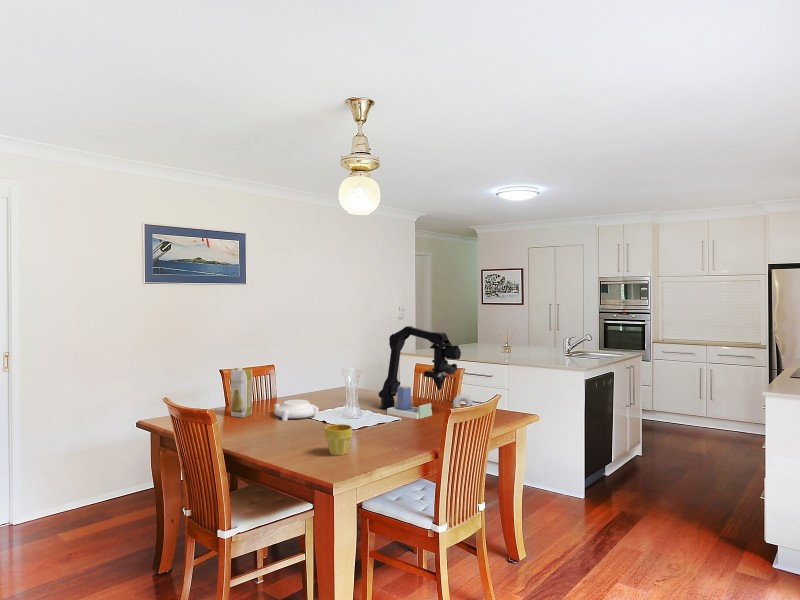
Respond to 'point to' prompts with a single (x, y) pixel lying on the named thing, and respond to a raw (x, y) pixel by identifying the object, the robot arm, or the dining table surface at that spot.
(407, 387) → the blue beige tall block
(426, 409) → the tray
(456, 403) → the donut
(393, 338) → the robot arm
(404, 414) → the beige low rectangular frame
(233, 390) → the juice carton
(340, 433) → the plant pot
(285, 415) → the round stand with pegs
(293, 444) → the dining table surface
